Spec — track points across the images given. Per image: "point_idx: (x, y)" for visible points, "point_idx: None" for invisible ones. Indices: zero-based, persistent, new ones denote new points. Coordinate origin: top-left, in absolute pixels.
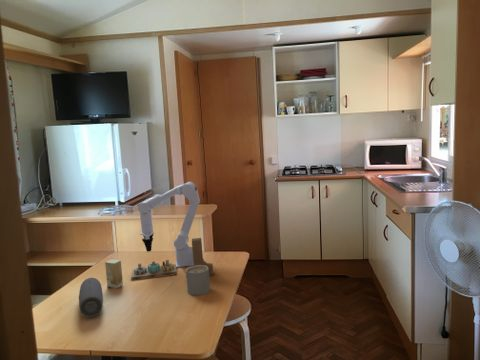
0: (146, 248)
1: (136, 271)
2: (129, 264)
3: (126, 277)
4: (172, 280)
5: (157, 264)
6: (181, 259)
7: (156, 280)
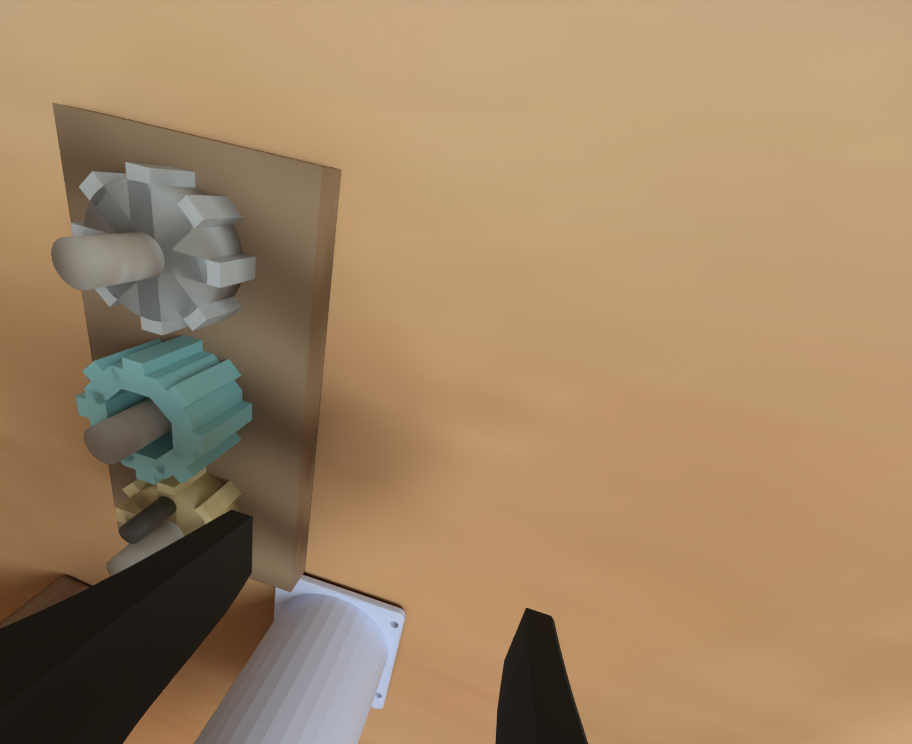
0: (159, 555)
1: (95, 192)
2: (754, 175)
3: (203, 56)
4: (30, 448)
5: (139, 462)
6: (246, 663)
7: (49, 348)
